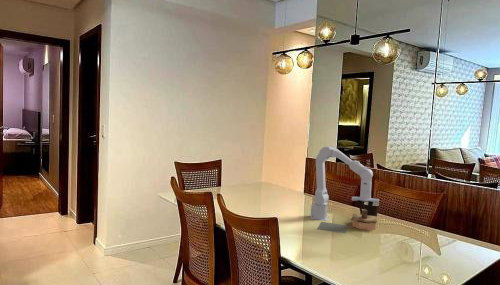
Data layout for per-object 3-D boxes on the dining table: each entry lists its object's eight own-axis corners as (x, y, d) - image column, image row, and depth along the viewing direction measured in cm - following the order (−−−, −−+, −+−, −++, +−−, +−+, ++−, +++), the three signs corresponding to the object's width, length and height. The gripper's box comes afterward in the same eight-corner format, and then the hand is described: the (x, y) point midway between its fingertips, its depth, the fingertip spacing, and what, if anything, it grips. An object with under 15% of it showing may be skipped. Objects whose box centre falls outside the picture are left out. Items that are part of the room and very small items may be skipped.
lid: (351, 220, 196) (351, 211, 196) (352, 215, 209) (353, 206, 209) (376, 223, 192) (376, 214, 192) (376, 218, 204) (377, 209, 204)
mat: (316, 230, 192) (316, 229, 192) (321, 222, 207) (321, 221, 206) (345, 234, 187) (345, 233, 187) (347, 226, 201) (347, 225, 201)
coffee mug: (379, 222, 209) (380, 206, 209) (363, 221, 211) (364, 205, 210) (376, 217, 221) (377, 201, 220) (361, 216, 222) (362, 200, 222)
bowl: (351, 228, 197) (352, 221, 197) (353, 222, 209) (353, 215, 208) (375, 231, 193) (375, 224, 193) (375, 225, 205) (375, 218, 204)
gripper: (351, 190, 198) (350, 214, 199) (379, 193, 193) (378, 217, 194) (352, 188, 205) (351, 211, 206) (379, 190, 200) (378, 214, 201)
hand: (364, 214), depth 200 cm, fingers closed on lid, 3 cm apart
